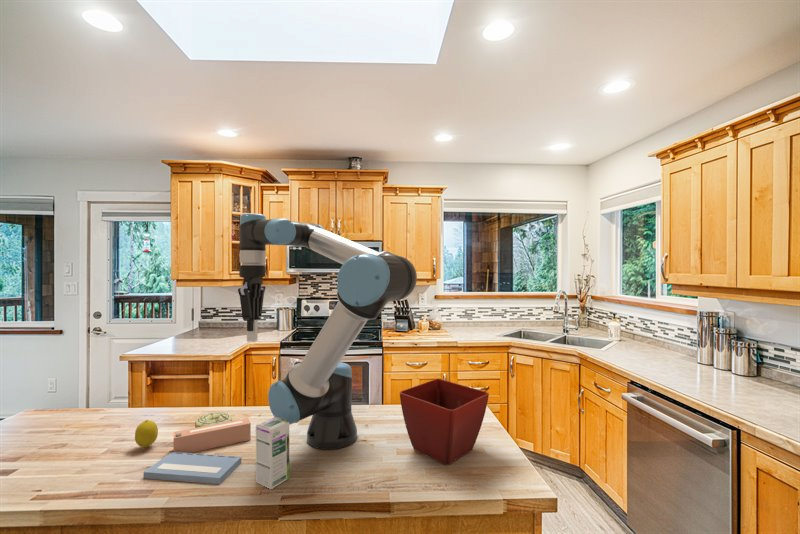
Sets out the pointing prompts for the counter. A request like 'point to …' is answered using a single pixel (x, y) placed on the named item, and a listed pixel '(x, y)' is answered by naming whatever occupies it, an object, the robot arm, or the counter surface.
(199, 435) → the pink rectangular bar
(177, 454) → the board
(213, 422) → the decorated donut
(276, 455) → the syrup box
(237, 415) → the counter surface
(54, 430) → the counter surface
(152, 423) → the lemon
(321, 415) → the robot arm
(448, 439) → the plant pot
